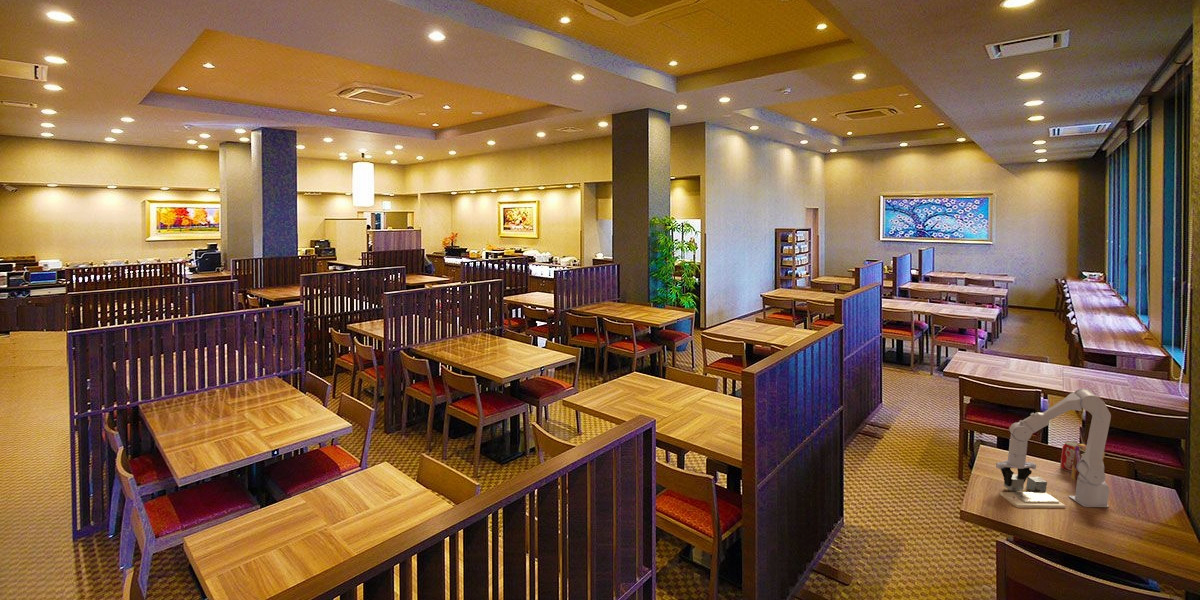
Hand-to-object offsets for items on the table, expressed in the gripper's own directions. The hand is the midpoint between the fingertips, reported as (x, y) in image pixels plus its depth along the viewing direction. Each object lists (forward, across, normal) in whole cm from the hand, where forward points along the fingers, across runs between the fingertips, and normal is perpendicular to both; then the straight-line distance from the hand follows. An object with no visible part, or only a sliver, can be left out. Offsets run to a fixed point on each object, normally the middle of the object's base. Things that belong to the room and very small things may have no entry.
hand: (1013, 485), depth 236 cm
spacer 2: (+3, -9, 0) cm, 10 cm away
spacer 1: (+2, 0, 0) cm, 2 cm away
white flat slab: (+2, -3, +8) cm, 8 cm away
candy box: (+3, -34, -8) cm, 35 cm away
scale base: (+3, -2, +8) cm, 9 cm away
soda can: (+3, -37, -20) cm, 42 cm away
